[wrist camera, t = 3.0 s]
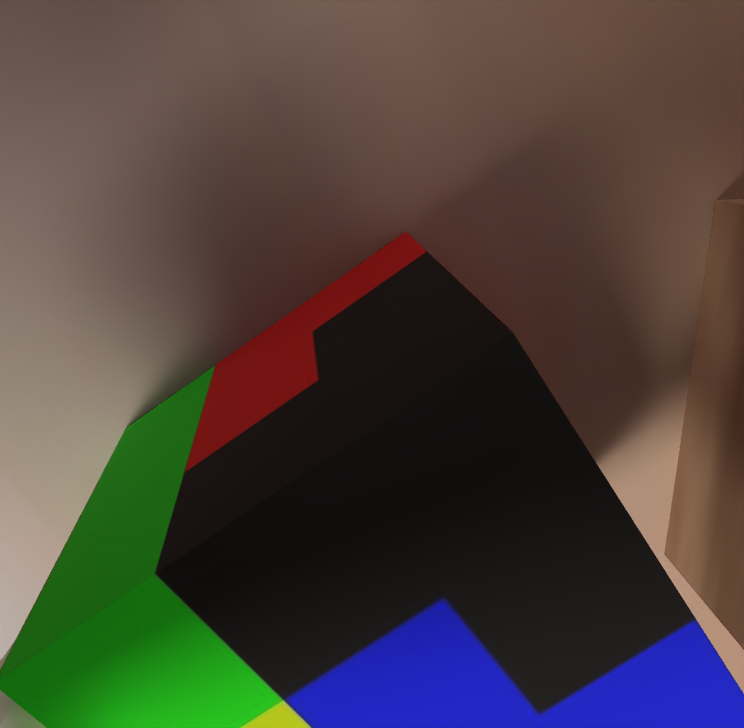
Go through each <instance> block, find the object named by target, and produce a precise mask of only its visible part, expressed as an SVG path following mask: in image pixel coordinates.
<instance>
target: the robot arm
mask: <svg viewBox="0 0 744 728" xmlns="http://www.w3.org/2000/svg"><path fill="white" fill-rule="evenodd" d="M13 644H14V643H13ZM13 644H12V646H13ZM12 646H11V647H10V649H9V650H8V651H7V653H6V654H5V656H4V657H3V658H2V660H1V661H0V669H1V667H2V665H3V663H4V661H5V659H6V657H7V656H8V654H9V652H10V650H11V648H12ZM0 728H46V727H45V726H44V725H43V724H41V723H40V722H39V721H38V720H36V719H35V718H34V717H33V716H31V715H30V714H29V713H28V712H26V711H25V710H24V709H23V708H22V707H20V706H19V705H18V704H17V703H15V702H14V701H13V700H12V699H10V698H9V697H8V696H7V695H6V694H4V693H3V692H2V691H1V690H0Z"/></svg>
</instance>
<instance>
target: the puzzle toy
mask: <svg viewBox="0 0 744 728" xmlns="http://www.w3.org/2000/svg"><path fill="white" fill-rule="evenodd" d="M0 690H1V691H2V692H3V693H4V694H6V695H7V696H8V697H9V698H10V699H12V700H13V701H14V702H15V703H17V704H18V705H19V706H20V707H22V708H23V709H24V710H25V711H26V712H28V713H29V714H30V715H31V716H33V717H34V718H35V719H36V720H38V721H39V722H40V723H41V724H43V725H44V726H45V727H46V728H744V694H743V692H742V690H741V689H740V687H739V686H738V684H737V683H736V681H735V680H734V678H733V676H732V675H731V673H730V672H729V670H728V669H727V667H726V665H725V664H724V662H723V661H722V659H721V658H720V656H719V654H718V653H717V651H716V650H715V648H714V647H713V645H712V644H711V642H710V640H709V639H708V637H707V636H706V634H705V633H704V631H703V629H702V628H701V626H700V625H699V623H698V622H697V620H696V619H695V617H694V615H693V614H692V612H691V611H690V609H689V608H688V606H687V604H686V603H685V601H684V600H683V598H682V597H681V595H680V593H679V592H678V590H677V589H676V587H675V586H674V584H673V583H672V581H671V579H670V578H669V576H668V575H667V573H666V572H665V570H664V568H663V567H662V565H661V564H660V562H659V561H658V559H657V558H656V556H655V554H654V553H653V551H652V550H651V548H650V547H649V545H648V543H647V542H646V540H645V539H644V537H643V536H642V534H641V533H640V531H639V529H638V528H637V526H636V525H635V523H634V522H633V520H632V518H631V517H630V515H629V514H628V512H627V511H626V509H625V507H624V506H623V504H622V503H621V501H620V500H619V498H618V497H617V495H616V493H615V492H614V490H613V489H612V487H611V486H610V484H609V482H608V481H607V479H606V478H605V476H604V475H603V473H602V472H601V470H600V468H599V467H598V465H597V464H596V462H595V461H594V459H593V457H592V456H591V454H590V453H589V451H588V450H587V448H586V446H585V445H584V443H583V442H582V440H581V439H580V437H579V436H578V434H577V432H576V431H575V429H574V428H573V426H572V425H571V423H570V421H569V420H568V418H567V417H566V415H565V414H564V412H563V411H562V409H561V407H560V406H559V404H558V403H557V401H556V400H555V398H554V396H553V395H552V393H551V392H550V390H549V389H548V387H547V385H546V384H545V382H544V381H543V379H542V378H541V376H540V375H539V373H538V371H537V370H536V368H535V367H534V365H533V364H532V362H531V360H530V359H529V357H528V356H527V354H526V353H525V351H524V350H523V348H522V346H521V345H520V343H519V342H518V340H517V339H516V337H515V335H514V334H513V332H512V331H511V330H510V329H509V328H508V327H507V326H505V325H504V324H503V323H502V322H501V321H500V320H499V319H498V318H497V317H496V316H495V315H494V314H493V313H492V312H491V311H490V310H488V309H487V308H486V307H485V306H484V305H483V304H482V303H481V302H480V301H479V300H478V299H477V298H476V297H475V296H474V295H473V294H471V293H470V292H469V291H468V290H467V289H466V288H465V287H464V286H463V285H462V284H461V283H460V282H459V281H458V280H457V279H456V278H454V277H453V276H452V275H451V274H450V273H449V272H448V271H447V270H446V269H445V268H444V267H443V266H442V265H441V264H440V263H439V262H437V261H436V260H435V259H434V258H433V257H432V256H431V255H430V254H429V253H428V252H427V251H426V250H425V249H424V248H423V247H422V246H420V245H419V244H418V243H417V242H416V241H415V240H414V239H413V238H412V237H411V236H410V235H409V234H408V233H407V232H404V233H403V234H402V235H400V236H399V237H397V238H396V239H394V240H393V241H392V242H390V243H389V244H387V245H386V246H385V247H383V248H382V249H380V250H379V251H377V252H376V253H375V254H373V255H372V256H370V257H369V258H367V259H366V260H365V261H363V262H362V263H360V264H359V265H357V266H356V267H355V268H353V269H352V270H350V271H349V272H347V273H346V274H345V275H343V276H342V277H340V278H339V279H337V280H336V281H335V282H333V283H332V284H330V285H329V286H328V287H326V288H325V289H323V290H322V291H320V292H319V293H318V294H316V295H315V296H313V297H312V298H310V299H309V300H308V301H306V302H305V303H303V304H302V305H300V306H299V307H298V308H296V309H295V310H293V311H292V312H290V313H289V314H288V315H286V316H285V317H283V318H282V319H280V320H279V321H278V322H276V323H275V324H273V325H272V326H271V327H269V328H268V329H266V330H265V331H263V332H262V333H261V334H259V335H258V336H256V337H255V338H253V339H252V340H251V341H249V342H248V343H246V344H245V345H243V346H242V347H241V348H239V349H238V350H236V351H235V352H233V353H232V354H231V355H229V356H228V357H226V358H225V359H223V360H222V361H221V362H219V363H218V364H216V365H215V366H214V367H212V368H211V369H209V370H208V371H206V372H205V373H204V374H202V375H201V376H199V377H198V378H196V379H195V380H194V381H192V382H191V383H189V384H188V385H186V386H185V387H184V388H182V389H181V390H179V391H178V392H176V393H175V394H174V395H172V396H171V397H169V398H168V399H166V400H165V401H164V402H162V403H161V404H159V405H158V406H157V407H155V408H154V409H152V410H151V411H149V412H148V413H147V414H145V415H144V416H142V417H141V418H139V419H138V420H137V421H135V422H134V423H132V424H131V425H129V426H128V427H127V428H126V429H125V431H124V433H123V435H122V437H121V439H120V441H119V442H118V444H117V446H116V448H115V450H114V452H113V454H112V456H111V458H110V460H109V462H108V464H107V466H106V467H105V469H104V471H103V473H102V475H101V477H100V479H99V481H98V483H97V485H96V487H95V489H94V490H93V492H92V494H91V496H90V498H89V500H88V502H87V504H86V506H85V508H84V510H83V512H82V514H81V515H80V517H79V519H78V521H77V523H76V525H75V527H74V529H73V531H72V533H71V535H70V537H69V538H68V540H67V542H66V544H65V546H64V548H63V550H62V552H61V554H60V556H59V558H58V560H57V561H56V563H55V565H54V567H53V569H52V571H51V573H50V575H49V577H48V579H47V581H46V583H45V585H44V586H43V588H42V590H41V592H40V594H39V596H38V598H37V600H36V602H35V604H34V606H33V608H32V609H31V611H30V613H29V615H28V617H27V619H26V621H25V623H24V625H23V627H22V629H21V631H20V633H19V634H18V636H17V638H16V640H15V642H14V644H13V646H12V648H11V650H10V652H9V654H8V656H7V657H6V659H5V661H4V663H3V665H2V667H1V669H0Z"/></svg>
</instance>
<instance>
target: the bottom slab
mask: <svg viewBox="0 0 744 728" xmlns="http://www.w3.org/2000/svg"><path fill="white" fill-rule="evenodd" d="M665 556H666V557H667V558H668V559H669V560H670V562H671V563H672V564H673V565H674V566H675V568H676V569H677V570H678V571H679V572H680V574H681V575H682V576H683V577H684V578H685V580H686V581H687V582H688V583H689V584H690V586H691V587H692V588H693V589H694V590H695V592H696V593H697V594H698V595H699V596H700V598H701V599H702V600H703V601H704V602H705V604H706V605H707V606H708V607H709V608H710V610H711V611H712V612H713V613H714V614H715V616H716V617H717V618H718V619H719V621H720V622H721V623H722V624H723V625H724V627H725V628H726V629H727V630H728V631H729V633H730V634H731V635H732V636H733V637H734V639H735V640H736V641H737V642H738V643H739V645H740V646H741V647H742V648H743V649H744V199H721V200H716V203H715V210H714V216H713V223H712V230H711V237H710V244H709V251H708V258H707V265H706V272H705V279H704V285H703V292H702V299H701V306H700V313H699V320H698V327H697V334H696V341H695V347H694V354H693V361H692V368H691V375H690V382H689V389H688V396H687V403H686V410H685V416H684V423H683V430H682V437H681V444H680V451H679V458H678V465H677V472H676V479H675V485H674V492H673V499H672V506H671V513H670V520H669V527H668V534H667V541H666V547H665Z"/></svg>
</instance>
